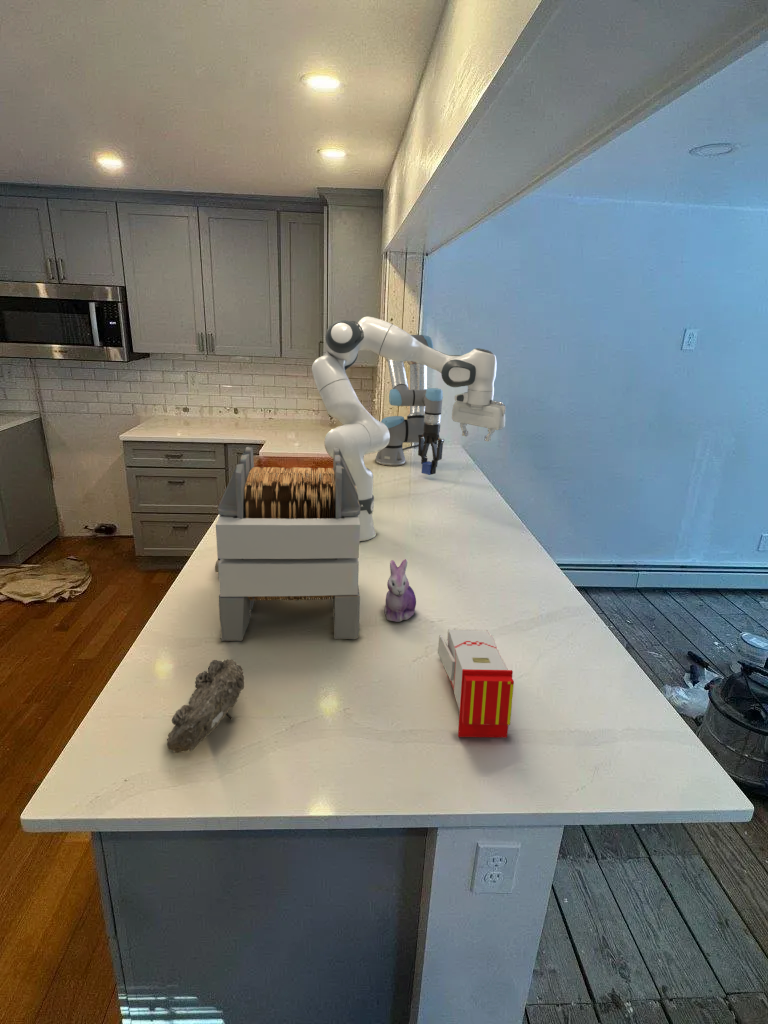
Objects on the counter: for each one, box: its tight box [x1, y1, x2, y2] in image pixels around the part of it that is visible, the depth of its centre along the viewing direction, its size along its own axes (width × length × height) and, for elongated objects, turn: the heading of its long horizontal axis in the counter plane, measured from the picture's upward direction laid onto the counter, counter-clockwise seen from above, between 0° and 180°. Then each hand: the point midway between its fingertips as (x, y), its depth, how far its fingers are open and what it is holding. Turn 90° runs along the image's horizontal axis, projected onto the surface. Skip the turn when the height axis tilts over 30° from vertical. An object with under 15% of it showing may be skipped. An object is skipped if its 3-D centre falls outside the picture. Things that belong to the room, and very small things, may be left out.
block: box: [421, 460, 432, 476], centre depth 264 cm, size 5×5×5 cm
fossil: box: [166, 658, 245, 754], centre depth 106 cm, size 22×10×15 cm
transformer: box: [215, 446, 361, 642], centre depth 142 cm, size 34×33×41 cm
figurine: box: [384, 558, 417, 623], centre depth 145 cm, size 9×10×15 cm
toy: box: [437, 628, 515, 738], centre depth 117 cm, size 12×13×30 cm
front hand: (475, 438), depth 197 cm, fingers open, 8 cm apart
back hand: (428, 472), depth 265 cm, fingers closed on block, 5 cm apart
